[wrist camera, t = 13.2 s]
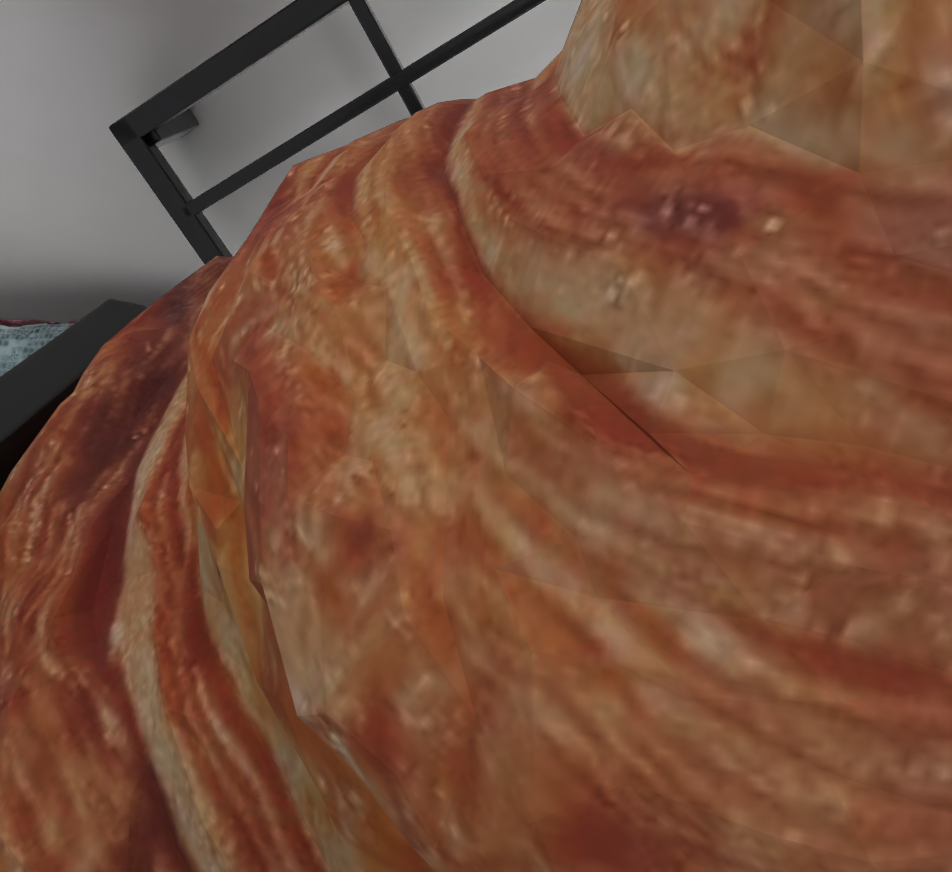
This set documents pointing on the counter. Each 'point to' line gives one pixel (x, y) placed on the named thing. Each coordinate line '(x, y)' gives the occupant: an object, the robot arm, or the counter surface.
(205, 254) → the rack
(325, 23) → the counter surface
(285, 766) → the pastry
